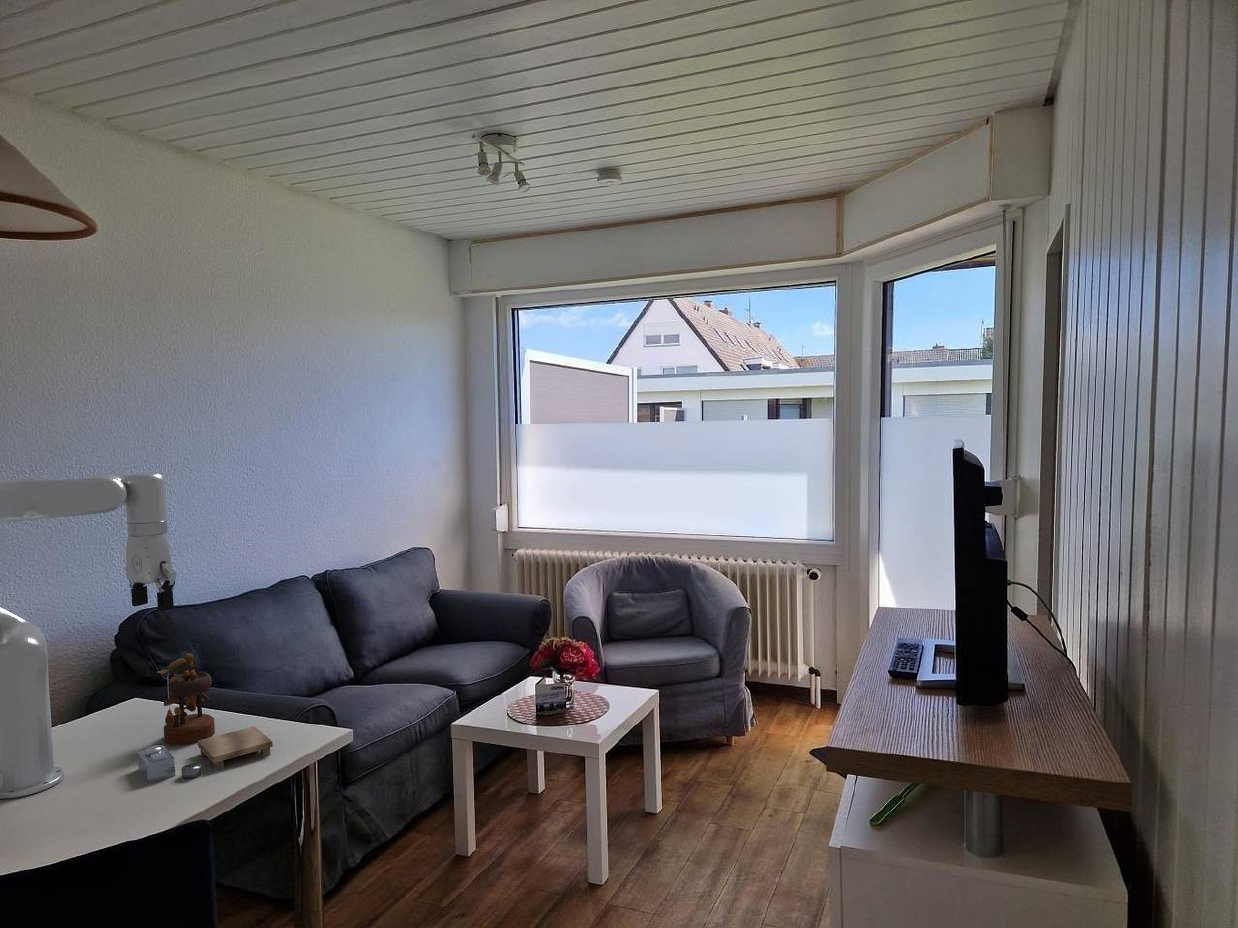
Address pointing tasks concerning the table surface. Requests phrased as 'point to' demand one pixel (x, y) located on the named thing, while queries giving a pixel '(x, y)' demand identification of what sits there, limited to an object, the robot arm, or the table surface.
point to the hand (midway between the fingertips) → (152, 607)
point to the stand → (234, 745)
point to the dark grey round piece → (191, 771)
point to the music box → (187, 704)
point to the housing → (156, 763)
